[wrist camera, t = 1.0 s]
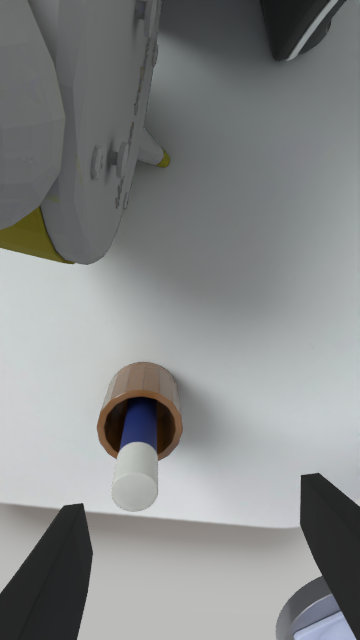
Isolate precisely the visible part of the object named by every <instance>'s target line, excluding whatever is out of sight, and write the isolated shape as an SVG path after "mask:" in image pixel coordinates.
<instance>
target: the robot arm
mask: <svg viewBox="0 0 360 640" xmlns="http://www.w3.org/2000/svg"><path fill="white" fill-rule="evenodd" d="M300 525H301V528H302V530H303V533H304V536H305V538H306V541H307V543H308V545H309V548H310V550H311V553H312V555H313V557H314V560H315V562H316V564H317V566H318V568H319V570H320V571H321V573H322V575H323V577H324V579H325V581H326V583H327V585H328V587H329V589H330V591H331V593H332V595H333V596H334V598H335V600H336V602H337V604H338V606H339V608H340V610H341V611H339V612H337V613H335V614H333V615H331V616H329V617H327V618H325V619H322V620H320V621H318V622H316V623H314V624H312V625H310V626H308V627H306V628H303V629H301V630H299V631H297V632H296V633H295V634H294V640H360V506H358V505H357V504H356V503H355V502H353V501H352V500H351V499H350V498H349V497H347V496H346V495H345V494H344V493H342V492H341V491H340V490H339V489H338V488H336V487H335V486H334V485H333V484H332V483H330V482H329V481H328V480H327V479H326V478H324V477H323V476H322V475H321V474H319V473H315V474H307V475H301V504H300ZM92 555H93V551H92V546H91V541H90V536H89V531H88V526H87V521H86V515H85V510H84V505H83V503H81V504H73V505H65V506H63V507H62V509H61V510H60V511H59V513H58V514H57V516H56V517H55V519H54V520H53V522H52V523H51V524H50V526H49V527H48V529H47V530H46V532H45V533H44V535H43V536H42V537H41V539H40V540H39V542H38V543H37V545H36V546H35V548H34V549H33V550H32V552H31V553H30V554H29V556H28V557H27V559H26V560H25V561H24V563H23V564H22V565H21V567H20V569H19V570H18V571H17V572H16V574H15V575H14V576H13V578H12V579H11V580H10V582H9V583H8V584H7V586H6V587H5V588H4V589H3V591H2V592H1V593H0V640H77V637H78V632H79V628H80V623H81V619H82V615H83V611H84V606H85V602H86V597H87V593H88V586H89V578H90V572H91V564H92Z"/></svg>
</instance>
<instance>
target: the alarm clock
mask: <svg viewBox="0 0 360 640" xmlns="http://www.w3.org/2000/svg"><path fill="white" fill-rule="evenodd" d="M161 4H162V0H0V248H3V249H7V250H11V251H15V252H20V253H24V254H28V255H32V256H36V257H40V258H45V259H49V260H53V261H57V262H61V263H67V264H74V263H79V264H85V265H88V264H91V263H94V262H96V261H98V260H99V259H100V258H102V257H103V256H104V255H105V253H106V252H107V250H108V249H109V247H110V246H111V244H112V241H113V239H114V237H115V234H116V232H117V229H118V226H119V223H120V220H121V217H122V214H123V211H124V210H125V209H126V208H127V204H128V199H129V192H130V188H131V184H132V179H133V175H134V171H135V166H136V162H137V160H138V161H142V162H145V163H149V164H152V165H155V166H159V167H162V168H164V167H167V166H168V165H169V163H170V157H169V156H168V154H167V153H166V152H165V151H164V150H163V148H162V147H160V146H159V145H158V143H157V142H156V141H155V140H154V139H153V138H152V136H151V135H150V134H149V133H148V132H147V131H146V129H145V128H144V122H145V116H146V110H147V104H148V98H149V92H150V86H151V80H152V74H153V67H154V66H155V64H156V60H157V54H158V45H157V44H156V43H157V35H158V27H159V20H160V12H161Z"/></svg>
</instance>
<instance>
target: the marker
mask: <svg viewBox="0 0 360 640" xmlns="http://www.w3.org/2000/svg"><path fill="white" fill-rule="evenodd" d="M157 495H158V456H157V400H156V399H152V398H148V397H143V396H141V397H133V398H129V401H128V406H127V412H126V417H125V423H124V428H123V434H122V439H121V445H120V450H119V453H118V456H117V461H116V466H115V471H114V477H113V482H112V487H111V497H112V499H113V501H114V503H115V504H116V505H117V506H118V507H120V508H121V509H123V510H126V511H132V512H135V511H141V510H144V509H146V508H148V507H149V506H151V505H152V504H153V503H154V501H155V500H156V498H157Z"/></svg>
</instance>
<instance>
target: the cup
mask: <svg viewBox="0 0 360 640" xmlns="http://www.w3.org/2000/svg"><path fill="white" fill-rule="evenodd" d="M141 396H143V397H148V398H152V399H156V400H157V456H158V461H159V460H161V459H163V458H165V457H167V456H168V455H169V454H170V453H171V452H172V451H173V450H174V448H175V447H176V446H177V445H178V443H179V440H180V437H181V434H182V431H183V426H182V418H181V410H180V403H179V396H178V389H177V385H176V382H175V380H174V378H173V377H172V375H171V374H170V373H169V372H168V371H167V370H166V369H164V368H163V367H161V366H159V365H156V364H153V363H148V362H138V363H133V364H130V365H128V366H126V367H124V368H123V369H121V370H120V371H119V372H118V373H117V374H116V375H115V376H114V378H113V379H112V381H111V383H110V385H109V388H108V391H107V394H106V397H105V400H104V403H103V406H102V409H101V412H100V416H99V419H98V423H97V432H98V437H99V441H100V443H101V444H102V446H103V447H104V449H105V450H106V451H107V453H108V454H109V455H111V456H112V457H114V458H116V459H117V456H118V453H119V450H120V445H121V439H122V434H123V428H124V423H125V417H126V412H127V406H128V401H129V398H133V397H141Z"/></svg>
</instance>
